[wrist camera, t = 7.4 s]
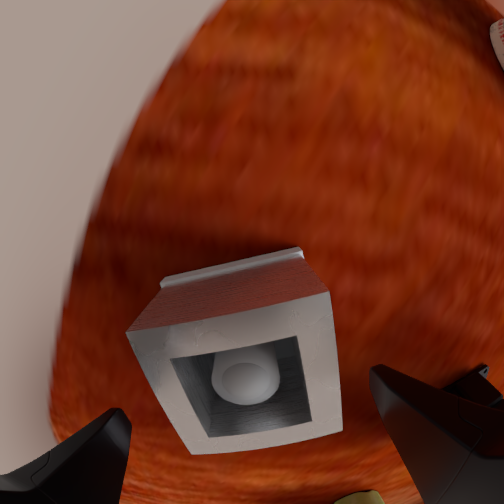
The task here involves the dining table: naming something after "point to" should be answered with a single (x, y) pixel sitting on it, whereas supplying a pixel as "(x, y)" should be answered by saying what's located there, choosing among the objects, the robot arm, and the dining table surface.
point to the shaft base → (279, 344)
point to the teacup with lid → (498, 40)
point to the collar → (236, 336)
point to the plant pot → (362, 498)
